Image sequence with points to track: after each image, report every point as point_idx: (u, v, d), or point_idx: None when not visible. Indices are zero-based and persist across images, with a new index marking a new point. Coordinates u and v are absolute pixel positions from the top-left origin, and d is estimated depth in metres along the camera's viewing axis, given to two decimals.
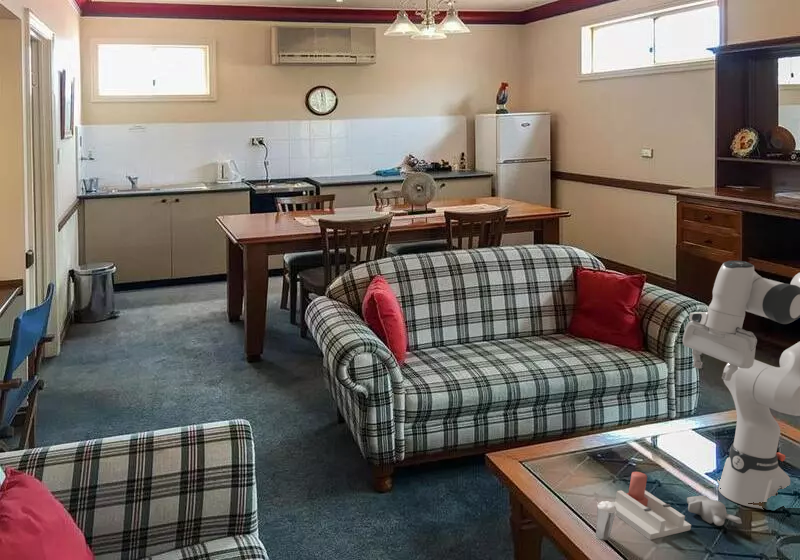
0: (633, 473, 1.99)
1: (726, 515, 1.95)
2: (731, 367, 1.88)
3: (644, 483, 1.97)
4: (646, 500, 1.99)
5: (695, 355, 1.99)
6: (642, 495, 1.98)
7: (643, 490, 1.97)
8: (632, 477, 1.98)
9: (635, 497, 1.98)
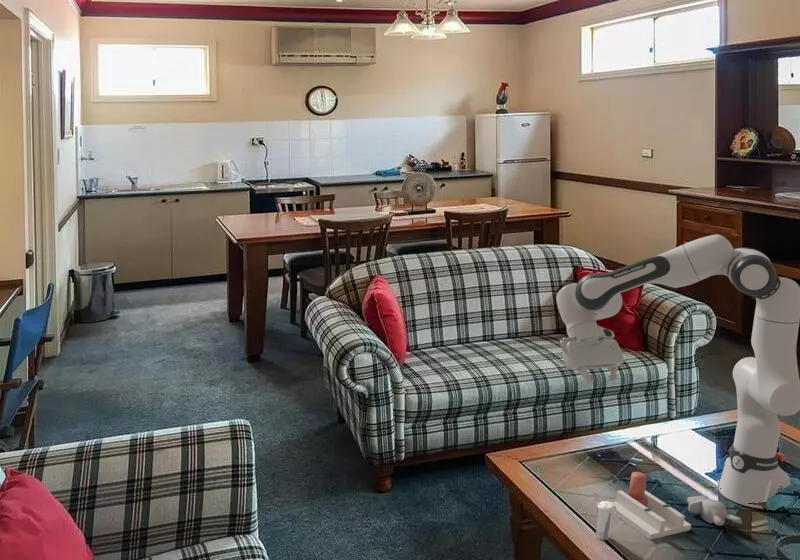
0: (633, 473, 1.99)
1: (726, 515, 1.95)
2: None
3: (644, 483, 1.97)
4: (646, 500, 1.99)
5: (611, 371, 2.14)
6: (642, 495, 1.98)
7: (643, 490, 1.97)
8: (632, 477, 1.98)
9: (635, 497, 1.98)
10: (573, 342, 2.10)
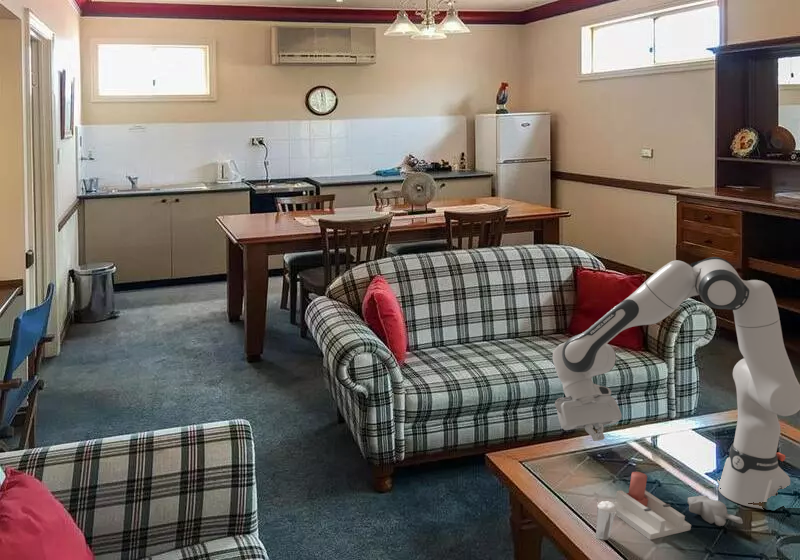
0: (633, 473, 1.99)
1: (727, 515, 1.95)
2: None
3: (644, 483, 1.97)
4: (646, 500, 1.99)
5: (598, 430, 2.15)
6: (642, 495, 1.98)
7: (643, 490, 1.97)
8: (632, 477, 1.98)
9: (635, 497, 1.98)
10: (568, 403, 2.13)
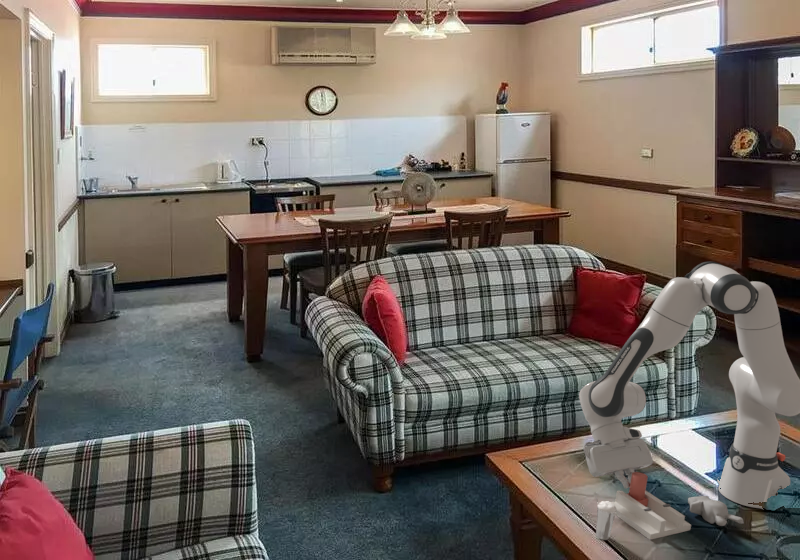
0: (633, 473, 1.99)
1: (728, 515, 1.95)
2: None
3: (644, 483, 1.97)
4: (646, 500, 1.98)
5: (628, 475, 2.04)
6: (642, 495, 1.98)
7: (643, 490, 1.97)
8: (632, 477, 1.98)
9: (635, 497, 1.98)
10: (597, 447, 2.02)
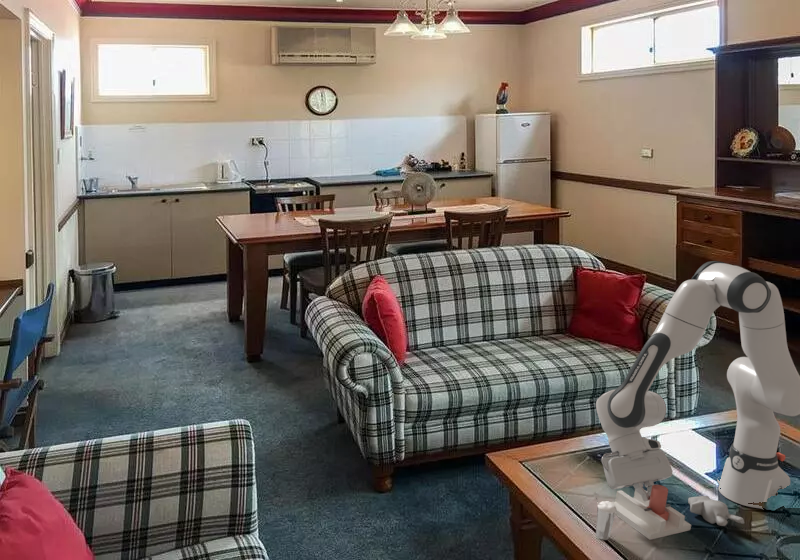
0: (653, 486, 1.93)
1: (728, 515, 1.95)
2: None
3: (665, 496, 1.91)
4: (667, 514, 1.92)
5: (648, 488, 1.98)
6: (663, 509, 1.91)
7: (664, 504, 1.91)
8: (652, 490, 1.92)
9: (656, 511, 1.91)
10: (616, 459, 1.96)
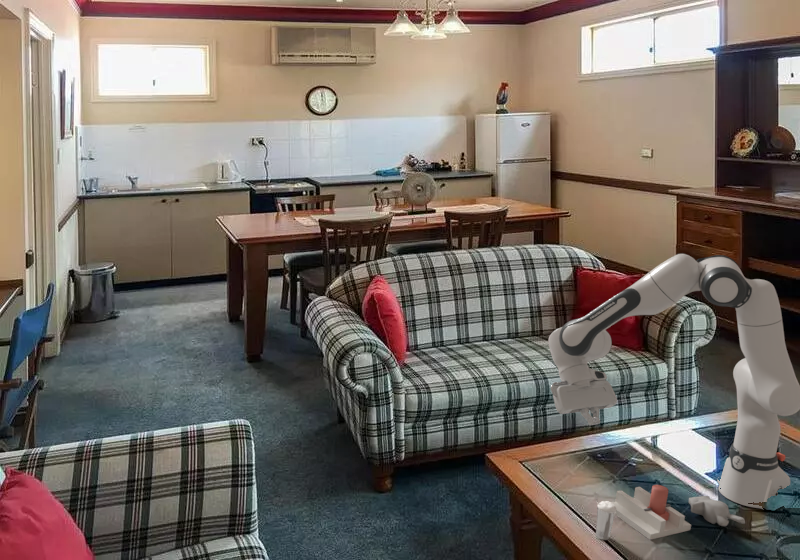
0: (654, 486, 1.93)
1: (729, 515, 1.95)
2: None
3: (665, 497, 1.90)
4: (667, 514, 1.92)
5: (593, 414, 2.16)
6: (663, 509, 1.91)
7: (664, 504, 1.91)
8: (653, 490, 1.91)
9: (656, 511, 1.91)
10: (564, 387, 2.14)
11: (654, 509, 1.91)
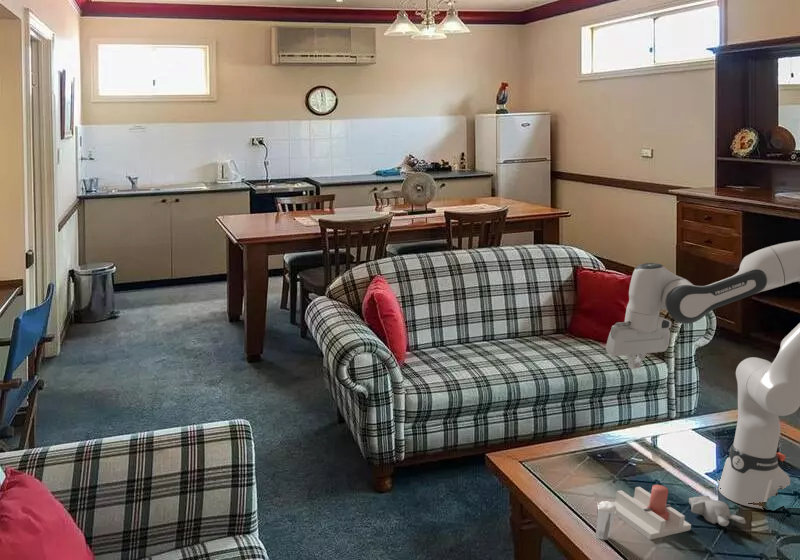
0: (654, 486, 1.93)
1: (730, 515, 1.95)
2: None
3: (665, 497, 1.90)
4: (667, 514, 1.92)
5: (638, 356, 2.11)
6: (663, 509, 1.91)
7: (664, 504, 1.91)
8: (653, 490, 1.91)
9: (656, 511, 1.91)
10: (625, 332, 2.03)
11: (654, 509, 1.91)
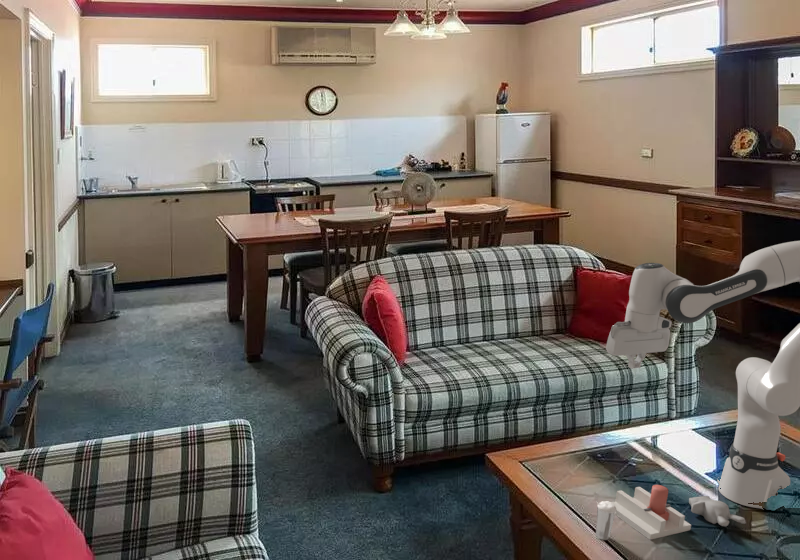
0: (654, 486, 1.93)
1: (730, 515, 1.95)
2: None
3: (665, 497, 1.90)
4: (667, 514, 1.92)
5: (638, 356, 2.11)
6: (663, 509, 1.91)
7: (664, 504, 1.91)
8: (653, 490, 1.91)
9: (656, 511, 1.91)
10: (625, 332, 2.03)
11: (654, 509, 1.91)
